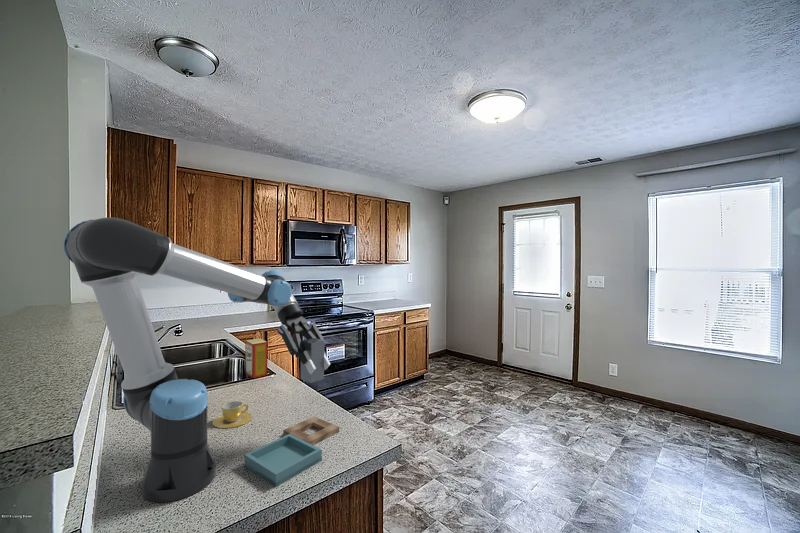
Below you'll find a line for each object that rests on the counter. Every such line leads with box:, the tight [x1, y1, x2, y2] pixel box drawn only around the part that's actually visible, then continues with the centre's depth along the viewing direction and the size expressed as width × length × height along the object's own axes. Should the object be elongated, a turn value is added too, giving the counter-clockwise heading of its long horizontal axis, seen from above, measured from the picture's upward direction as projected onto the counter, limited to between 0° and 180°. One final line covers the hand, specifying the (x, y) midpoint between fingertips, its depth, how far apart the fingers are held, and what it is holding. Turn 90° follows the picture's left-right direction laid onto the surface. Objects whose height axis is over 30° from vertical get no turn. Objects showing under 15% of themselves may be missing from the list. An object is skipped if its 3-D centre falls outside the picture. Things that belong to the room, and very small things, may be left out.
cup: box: [211, 400, 253, 429], centre depth 119 cm, size 12×12×5 cm
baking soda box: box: [244, 337, 268, 379], centre depth 165 cm, size 10×6×16 cm
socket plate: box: [282, 416, 340, 446], centre depth 111 cm, size 12×12×2 cm
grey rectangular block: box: [300, 338, 325, 384], centre depth 111 cm, size 5×5×12 cm
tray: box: [243, 434, 323, 488], centre depth 95 cm, size 14×14×3 cm
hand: (320, 369), depth 108 cm, fingers closed on grey rectangular block, 5 cm apart
